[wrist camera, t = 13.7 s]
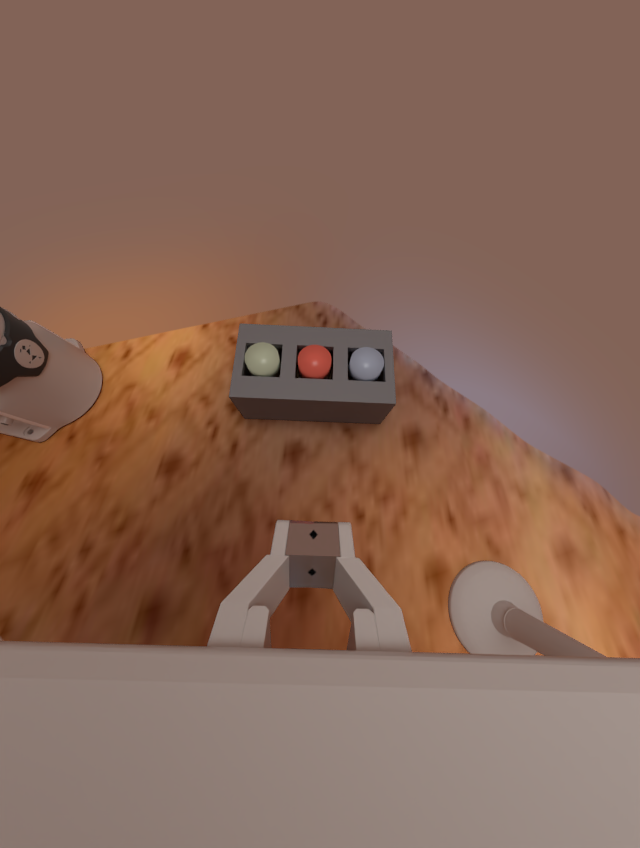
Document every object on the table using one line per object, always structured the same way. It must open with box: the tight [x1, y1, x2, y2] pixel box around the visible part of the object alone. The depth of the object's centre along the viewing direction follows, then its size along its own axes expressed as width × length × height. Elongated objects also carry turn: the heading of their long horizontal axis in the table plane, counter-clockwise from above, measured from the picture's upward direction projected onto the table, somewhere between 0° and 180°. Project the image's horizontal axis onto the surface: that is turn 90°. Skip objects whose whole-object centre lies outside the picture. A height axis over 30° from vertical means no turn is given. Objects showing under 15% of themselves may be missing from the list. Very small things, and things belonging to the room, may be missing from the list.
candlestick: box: [448, 561, 606, 657], centre depth 24 cm, size 13×13×30 cm
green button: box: [245, 342, 281, 377], centre depth 40 cm, size 5×5×4 cm
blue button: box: [348, 347, 384, 381], centre depth 40 cm, size 5×5×4 cm
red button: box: [298, 345, 332, 379], centre depth 40 cm, size 5×5×4 cm
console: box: [229, 324, 396, 424], centre depth 43 cm, size 23×12×9 cm, turn 88°
